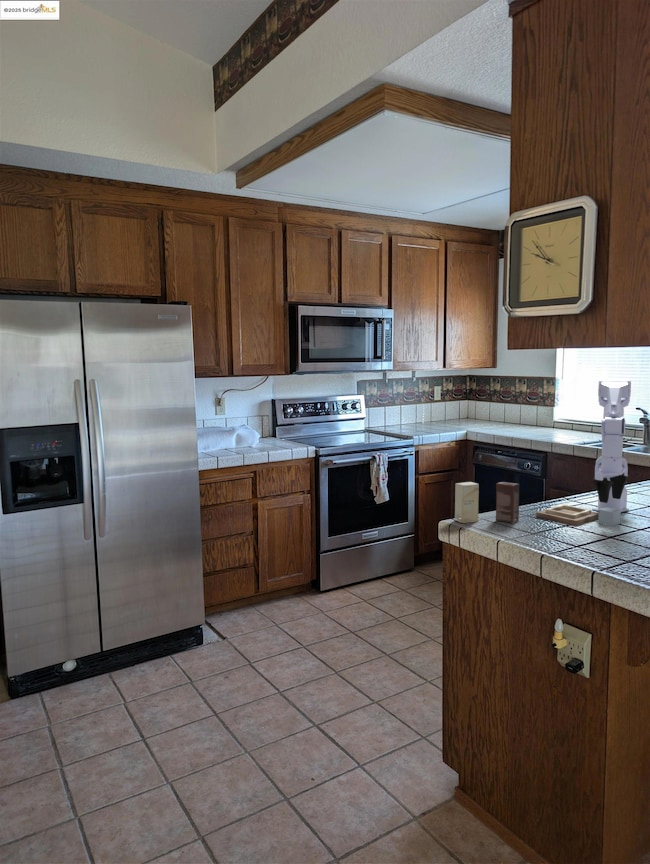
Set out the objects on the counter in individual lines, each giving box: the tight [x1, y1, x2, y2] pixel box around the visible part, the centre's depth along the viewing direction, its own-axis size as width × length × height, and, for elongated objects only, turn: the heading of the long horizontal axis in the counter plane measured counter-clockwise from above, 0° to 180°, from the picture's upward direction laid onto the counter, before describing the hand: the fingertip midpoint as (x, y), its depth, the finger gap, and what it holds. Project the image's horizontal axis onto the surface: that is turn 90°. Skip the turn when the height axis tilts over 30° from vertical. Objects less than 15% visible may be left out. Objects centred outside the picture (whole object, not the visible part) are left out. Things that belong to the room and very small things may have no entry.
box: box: [495, 481, 520, 524], centre depth 193 cm, size 6×4×12 cm
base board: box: [535, 504, 599, 526], centre depth 196 cm, size 14×14×2 cm
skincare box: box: [454, 481, 480, 524], centre depth 193 cm, size 6×4×12 cm
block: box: [597, 507, 622, 527], centre depth 188 cm, size 4×4×4 cm
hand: (610, 500), depth 188 cm, fingers open, 7 cm apart
